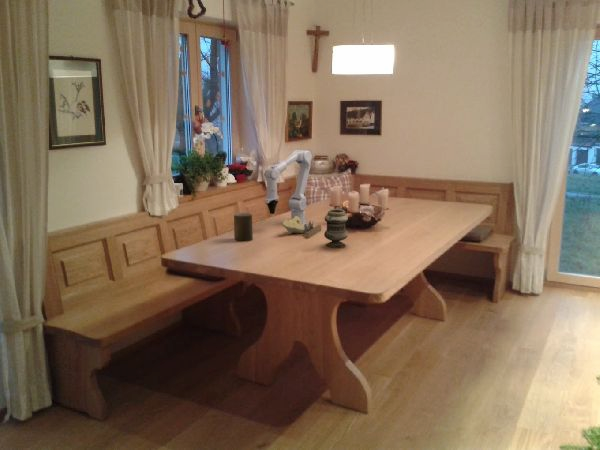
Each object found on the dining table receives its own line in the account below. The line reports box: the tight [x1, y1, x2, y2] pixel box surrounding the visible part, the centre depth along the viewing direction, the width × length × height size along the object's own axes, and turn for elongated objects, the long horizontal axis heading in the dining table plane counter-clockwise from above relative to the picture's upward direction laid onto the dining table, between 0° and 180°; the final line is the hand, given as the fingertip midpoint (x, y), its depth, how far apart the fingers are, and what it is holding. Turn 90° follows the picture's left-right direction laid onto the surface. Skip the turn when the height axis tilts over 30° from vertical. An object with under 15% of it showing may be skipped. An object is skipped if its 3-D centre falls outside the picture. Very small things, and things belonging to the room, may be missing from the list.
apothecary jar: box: [323, 208, 349, 249], centre depth 288 cm, size 12×12×18 cm
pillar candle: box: [233, 212, 254, 243], centre depth 302 cm, size 10×10×15 cm
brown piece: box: [303, 220, 322, 239], centre depth 314 cm, size 20×5×6 cm, turn 158°
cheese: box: [281, 216, 304, 235], centre depth 316 cm, size 15×7×15 cm
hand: (272, 213), depth 321 cm, fingers closed
